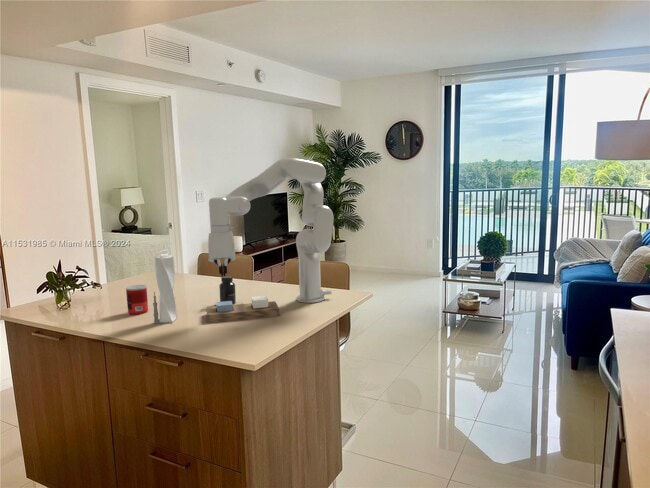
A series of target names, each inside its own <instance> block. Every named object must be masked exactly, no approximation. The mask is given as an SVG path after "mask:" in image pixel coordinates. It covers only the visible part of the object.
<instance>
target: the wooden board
mask: <svg viewBox="0 0 650 488" xmlns="http://www.w3.org/2000/svg"><path fill="white" fill-rule="evenodd" d="M280 315H281V314H280V307H279V305H278V304H277V301H268V307H264V308H253V306H252V302H249V303H239V304H238V303H237V304H233V311H227V312H217V305H215V306H207V307H206V324H207V323H217V322H218V323H220V322H229V321H241V320H242V321H243V320H252V319H261V318H262V319H263V318H264V319H265V318H271V317H272V318H273V317H280Z"/></svg>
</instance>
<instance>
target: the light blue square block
mask: <svg viewBox="0 0 650 488" xmlns="http://www.w3.org/2000/svg"><path fill="white" fill-rule="evenodd" d="M233 305H234V304H232V301H224V302H220V301H216V306H217V312H227V311H233Z"/></svg>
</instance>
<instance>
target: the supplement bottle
mask: <svg viewBox="0 0 650 488" xmlns="http://www.w3.org/2000/svg"><path fill="white" fill-rule="evenodd" d="M233 280H234V279H233V276H232V275H226V276H224V275H223V276H221V282H220V283H219V285H218V286H219V288H218V289H219V302H224V301H232V304H233V305H236V298H237V297H236V284H235V282H233Z"/></svg>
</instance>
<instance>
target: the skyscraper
mask: <svg viewBox="0 0 650 488" xmlns="http://www.w3.org/2000/svg"><path fill="white" fill-rule="evenodd" d="M166 251H167V253H165V254H164V253H163V254H160V253H162V252H166ZM169 252H170V249H162V250H159V251H158V252H156V254H155V256H154V270H155V278H156V285H157V288H158V291H159V292H158V293H159V310H158V302H157V297H156V292H155V291H154V292H153V303H152V305H153V314H152V315H153V325H169V324H170V325H171V324H173V323H174V322H175V321H176V320H177V319H178V312H177V311H178V310H177V304H176V298H175V297H176V296H175V292H174V287H175V279H176V277H175V276H176V266H175V255H173V254H169ZM159 254H160V256H158V255H159ZM158 311H159V312H158Z"/></svg>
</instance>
